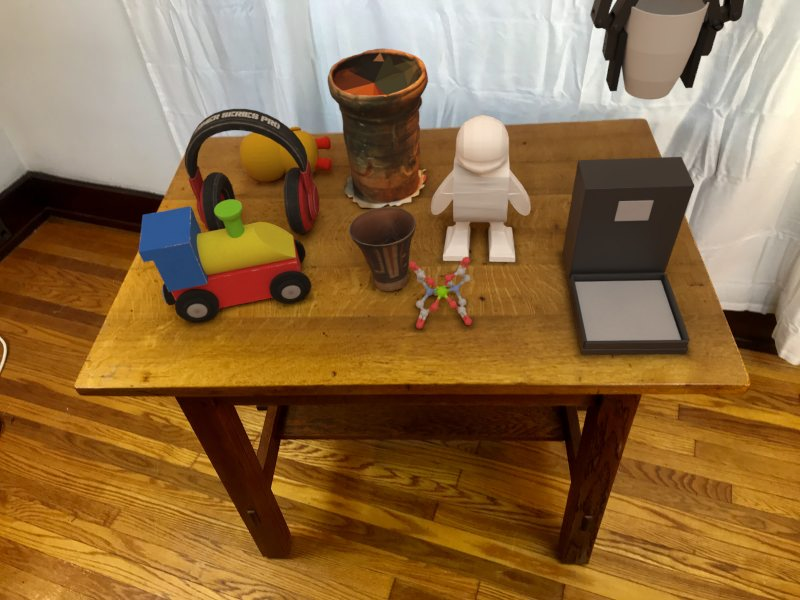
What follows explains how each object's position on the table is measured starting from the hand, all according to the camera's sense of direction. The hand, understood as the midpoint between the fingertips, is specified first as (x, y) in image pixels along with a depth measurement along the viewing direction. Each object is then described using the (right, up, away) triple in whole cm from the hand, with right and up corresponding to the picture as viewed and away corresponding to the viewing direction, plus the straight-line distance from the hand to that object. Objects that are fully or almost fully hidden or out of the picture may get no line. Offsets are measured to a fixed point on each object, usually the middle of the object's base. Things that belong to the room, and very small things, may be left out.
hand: (648, 83), depth 71 cm
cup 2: (0, -1, +1) cm, 1 cm away
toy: (-47, -3, +35) cm, 59 cm away
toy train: (-51, -24, +16) cm, 59 cm away
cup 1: (-30, -22, +16) cm, 41 cm away
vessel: (-30, -6, +31) cm, 44 cm away
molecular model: (-23, -26, +11) cm, 37 cm away
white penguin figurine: (-17, -16, +20) cm, 31 cm away
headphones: (-49, -14, +25) cm, 57 cm away
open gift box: (0, -25, +10) cm, 27 cm away
